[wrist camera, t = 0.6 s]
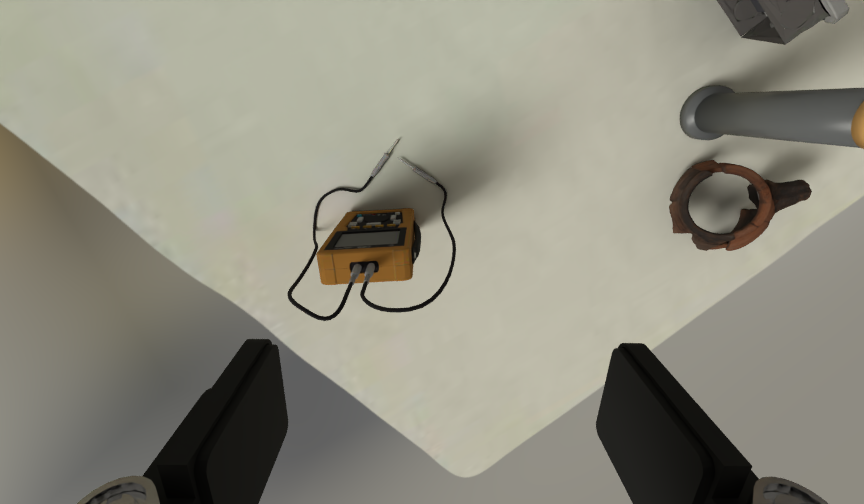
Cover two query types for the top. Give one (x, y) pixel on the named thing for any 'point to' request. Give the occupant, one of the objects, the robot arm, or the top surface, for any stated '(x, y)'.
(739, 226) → the brown curved hollow piece
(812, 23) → the electrical switch
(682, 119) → the post
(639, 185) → the top surface
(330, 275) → the multimeter
